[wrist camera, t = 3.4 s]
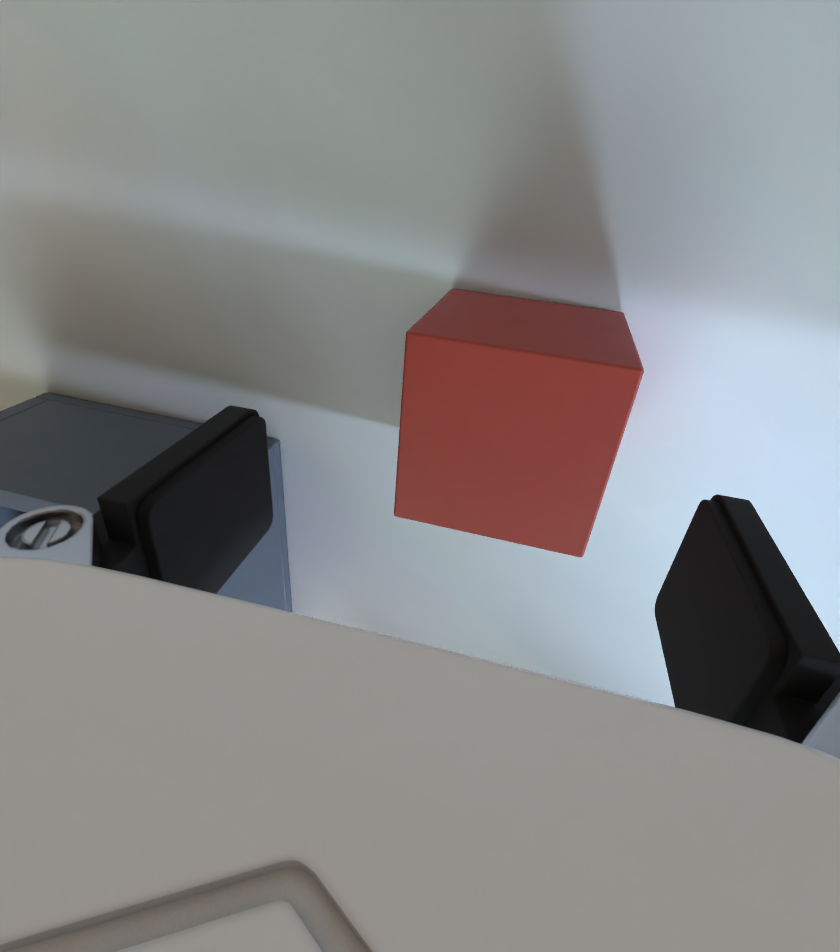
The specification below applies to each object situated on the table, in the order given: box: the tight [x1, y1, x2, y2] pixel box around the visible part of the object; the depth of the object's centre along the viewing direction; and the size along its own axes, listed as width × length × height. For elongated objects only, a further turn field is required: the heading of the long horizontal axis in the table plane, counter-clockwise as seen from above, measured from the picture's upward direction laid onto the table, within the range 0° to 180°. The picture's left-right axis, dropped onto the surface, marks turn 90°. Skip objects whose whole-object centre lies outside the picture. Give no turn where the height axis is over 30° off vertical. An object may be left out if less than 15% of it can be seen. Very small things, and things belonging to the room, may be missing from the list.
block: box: [394, 289, 644, 557], centre depth 15 cm, size 5×5×5 cm
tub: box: [0, 393, 292, 612], centre depth 22 cm, size 12×12×7 cm
